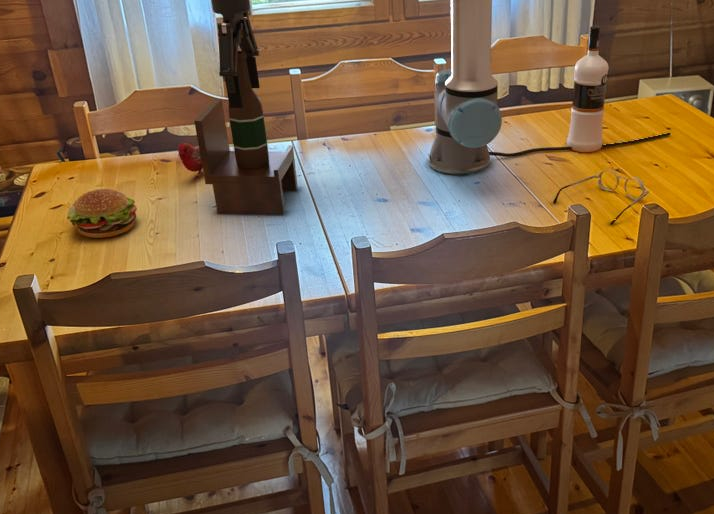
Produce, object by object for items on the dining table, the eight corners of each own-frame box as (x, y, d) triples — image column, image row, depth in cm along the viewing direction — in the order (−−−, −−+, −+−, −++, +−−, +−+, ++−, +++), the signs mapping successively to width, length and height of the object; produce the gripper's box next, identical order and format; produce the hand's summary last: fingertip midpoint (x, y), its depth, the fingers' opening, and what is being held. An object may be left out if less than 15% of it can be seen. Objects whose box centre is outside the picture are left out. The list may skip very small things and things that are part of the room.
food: (88, 213, 183) (79, 179, 178) (148, 215, 182) (140, 181, 177) (58, 240, 172) (48, 205, 167) (122, 242, 170) (114, 207, 166)
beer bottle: (263, 170, 179) (247, 57, 165) (230, 168, 180) (211, 56, 166) (275, 157, 185) (261, 48, 171) (243, 155, 186) (227, 46, 173)
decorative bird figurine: (179, 187, 195) (171, 146, 189) (214, 160, 209) (208, 122, 203) (190, 188, 194) (182, 147, 188) (224, 161, 208) (218, 122, 203)
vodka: (580, 138, 218) (591, 20, 202) (609, 146, 213) (622, 26, 196) (559, 147, 213) (568, 26, 196) (587, 156, 208) (599, 32, 191)
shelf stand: (297, 188, 193) (287, 99, 181) (283, 215, 181) (271, 121, 169) (229, 187, 194) (215, 98, 182) (210, 213, 182) (194, 120, 170)
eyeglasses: (653, 204, 183) (656, 183, 180) (613, 225, 174) (615, 204, 171) (591, 184, 193) (593, 163, 190) (550, 203, 184) (552, 182, 181)
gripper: (228, -22, 173) (243, 80, 185) (190, 3, 152) (210, 116, 164) (262, -22, 172) (275, 80, 184) (230, 3, 152) (247, 116, 164)
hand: (245, 97), depth 174 cm, fingers open, 13 cm apart
